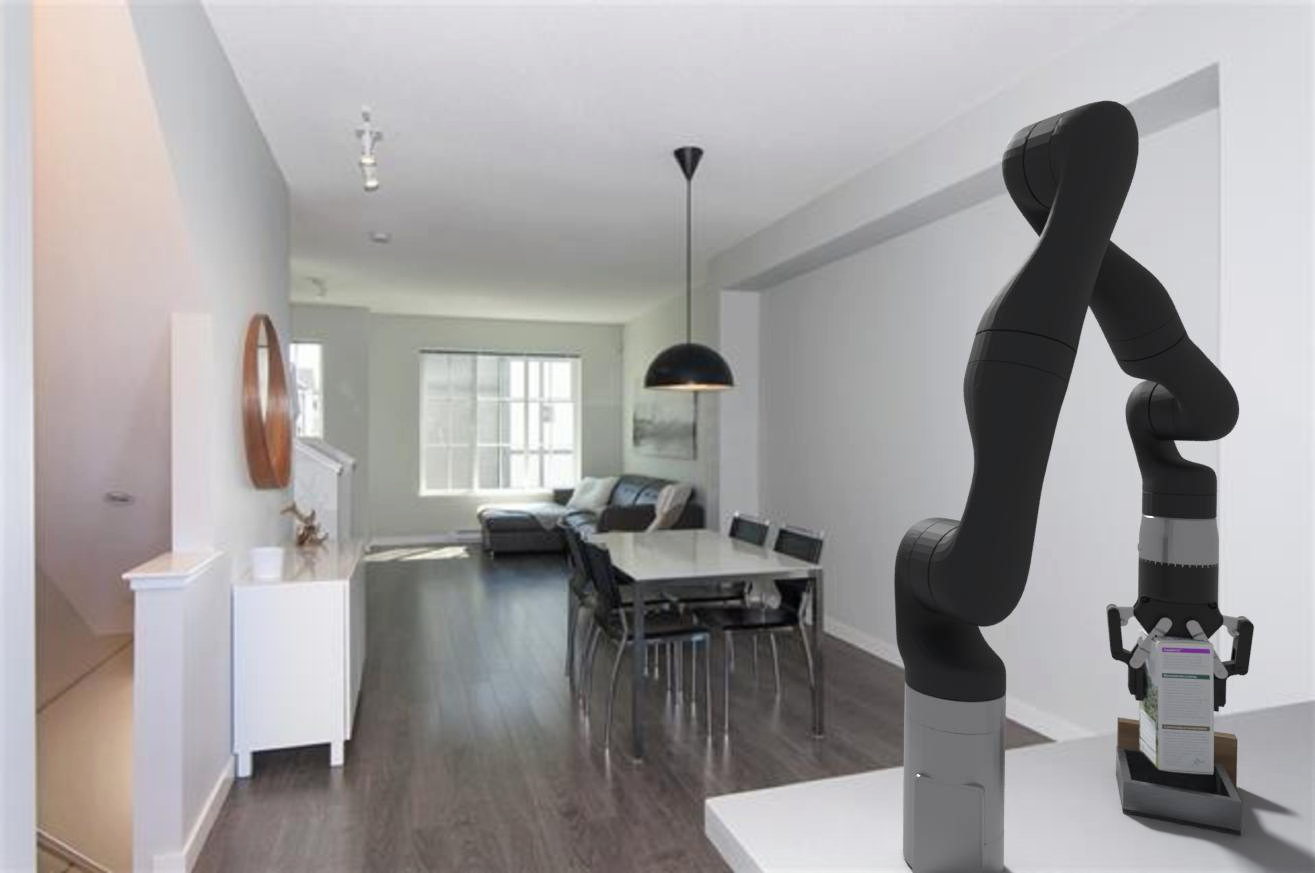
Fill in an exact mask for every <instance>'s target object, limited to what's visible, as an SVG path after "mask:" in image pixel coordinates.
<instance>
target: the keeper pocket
mask: <svg viewBox="0 0 1315 873" xmlns="http://www.w3.org/2000/svg"><path fill="white" fill-rule="evenodd" d="M1115 749H1116V750H1115V752H1116V753H1115V756H1116V757H1115V758H1116V759H1115V776H1116V777H1115V778H1116V782H1117V787H1118V788H1117V789H1118V793H1119V798H1120V804H1121V810H1122V813H1123V814H1128V815H1132V816H1137V817H1143V818H1149V819H1154V820H1158V821H1164V822H1168V823H1175V824H1179V825H1185V826H1190V827H1195V828H1199V829H1206V830H1211V831H1216V832H1221V833H1226V834H1231V835H1236V836H1242V801H1241V799H1240V796H1239V795H1238V792H1237V789H1236V790H1235V788H1234V786H1233V784H1232V782H1231V780H1230V778H1229V776H1228V774H1227V772H1226V770H1225V768H1224V766H1223V764H1222V763H1220V762H1214V773H1213V775H1210V774H1192V773H1180V772H1170V771H1163V770H1159V769H1158V768H1156V767H1155V766H1154V764H1153V763H1152V762H1151V761H1150V760H1149V759H1148V758H1147V757H1146V756H1145V755H1144V754H1143V753H1142V752H1141V751H1140V750H1139V749H1133V748H1127V747H1121V746H1117V745H1116V747H1115Z"/></svg>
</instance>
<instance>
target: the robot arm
mask: <svg viewBox="0 0 1315 873" xmlns="http://www.w3.org/2000/svg"><path fill="white" fill-rule="evenodd" d="M1139 140H1140V138H1139V130H1138V126H1137V123H1136V120H1135V117H1134V116H1133V114H1132V112H1131V111H1130V110H1129V109H1128V108H1127V107H1126V106H1125V105H1124V104H1122V103H1119V102H1118V101H1112V100H1102V101H1101V100H1099V101H1093V102H1090V103H1086V104H1083V105H1080V106H1076V107H1074V108H1071V109H1069V110H1066V111H1064V112H1060V113H1057V114H1055V115H1052V116H1050V117H1047V118H1045V119H1043V120H1039V121H1036V122H1035V123H1032V124H1029V125H1027V126H1025V127H1023V128H1021V129H1019V130H1018V131H1016V132H1015V133H1014V134H1013V135H1012V136H1011V137H1010V139H1009V140H1008V142H1007V144H1006V145H1005V149H1004V150H1003V154H1002V159H1001V160H1002V161H1001V169H1002V171H1001V173H1002V177H1003V181H1004V184H1005V187H1006V189H1007V192H1008V194H1009V195H1010V198H1011V200H1012V201H1013V203H1014V204H1015V205H1016V208H1017V209H1018V211H1019V212H1020V213H1021V215H1022V216H1023V217H1024V218H1025V220H1026V221H1027V223H1028V224H1029V226H1030V227H1031V228H1032V229H1033V231H1034V232H1035V233H1036V235H1037V236H1038V237H1039V238H1037V241H1036V243H1035V244H1034V246H1033V248H1032V249H1031V250H1030V251H1029V253H1028V254H1027V256H1026V257H1025V259H1024V260H1023V261H1022V262H1021V263H1020V265H1019V266H1018V267H1017V268H1016V270H1015V271H1014V272H1013V273H1012V275H1011V276H1010V277H1009V278H1008V280H1006V282H1005V284H1003V285H1002V287H1001V288H1000V289H999V291H998V292H997V294H996V295H995V296H994V297H993V299H992V301H991V302H990V303H989V305H988V307H987V308H986V309H985V311H984V313H983V314H982V317H981V319H980V322H979V323H978V326H977V329H976V332H975V336H974V339H973V344H972V346H971V350H970V354H969V357H968V361H967V365H966V369H965V372H964V377H963V378H964V379H963V387H962V388H963V390H962V392H963V403H964V408H965V414H966V419H967V423H968V428H969V432H970V434H969V435H970V438H971V443H972V448H973V473H972V477H971V478H972V479H971V485H970V488H969V492H968V495H967V500H966V504H965V507H964V510H963V513H962V516H961V519H960V520H957V519H953V518H945V517H929V518H925V519H922V520H919V521H918V522H916V523H915V524H913V525H912V526H911V527H910V528H909V529H908V530H907V531H906V532H905V534H904V535H903V537H902V538H901V541H900V543H899V545H898V548H897V552H896V556H895V563H894V577H893V579H894V581H893V582H894V608H895V610H894V612H895V613H894V615H895V634H896V635H895V636H896V645H897V649H898V652H899V655H900V658H901V660H902V663H903V666H904V709H903V710H904V712H903V786H902V787H903V789H902V790H903V792H902V793H903V796H902V798H903V800H902V802H903V803H902V805H903V806H902V807H903V808H902V855H903V858H904V859H905V862H907V864H908V865H909V866H910V867H911V868H912V869H911V872H912V873H1004V869H1005V868H1004V867H1005V865H1004V864H1005V862H1004V861H1005V858H1004V857H1005V792H1006V791H1005V789H1006V788H1005V786H1006V784H1005V782H1006V776H1005V775H1006V724H1007V719H1006V718H1007V715H1006V714H1007V670H1006V665H1005V662H1004V661H1003V660H1002V658H1001V657H1000V656H999V655H998V654H997V653H996V651H995V650H993V648H992V647H991V646H990V644H989V643H988V641H987V640H986V638H985V637H984V636H983V633H982V632H981V629H980V627H981V628H982V627H983V628H986V627H992V626H995V625H997V624H999V623H1002V622H1003V621H1004V620H1006V618H1008V617H1009V616H1010V615H1011V614H1012V613H1013V612H1014V610H1015V609H1016V608H1017V607H1018V605H1019V602H1020V601H1021V598H1022V597H1023V594H1024V591H1025V589H1026V585H1027V582H1028V579H1029V574H1030V570H1031V564H1032V557H1033V551H1034V543H1035V537H1036V530H1037V524H1038V519H1039V510H1040V505H1041V498H1042V497H1041V496H1042V493H1043V492H1042V491H1043V486H1044V481H1045V478H1046V473H1047V468H1048V465H1049V464H1048V463H1049V459H1050V455H1051V451H1052V446H1053V442H1054V439H1055V433H1056V429H1057V425H1058V420H1059V418H1060V414H1061V410H1062V407H1063V403H1064V401H1065V397H1066V394H1067V391H1068V388H1069V383H1070V382H1071V381H1070V380H1071V377H1072V372H1073V369H1074V367H1075V366H1074V365H1075V361H1076V357H1077V354H1078V349H1079V346H1080V345H1079V344H1080V340H1081V337H1082V336H1081V335H1082V330H1083V327H1084V323H1085V319H1086V316H1087V313H1088V309H1090V310H1091V312H1092V314H1093V316H1094V318H1095V320H1096V322H1097V324H1098V326H1099V328H1100V330H1101V332H1102V334H1103V336H1104V338H1105V340H1106V342H1107V344H1108V346H1109V348H1110V350H1111V352H1112V355H1113V356H1114V359H1115V360H1116V361H1115V362H1116V363H1117V365H1119V368H1120V369H1121V371H1122V372H1124V374H1126V375H1127V376H1129V377H1131V378H1134V379H1139V380H1143V381H1142V382H1139V383H1138V384H1136V386H1135V387H1134V388H1133V389H1132V390H1131V392H1130V393H1129V395H1128V398H1127V400H1126V401H1127V402H1126V405H1125V421H1126V426H1127V430H1128V434H1129V436H1130V441H1131V443H1132V446H1133V450H1134V453H1135V457H1136V462H1137V464H1138V468H1139V471H1140V476H1141V484H1142V485H1141V487H1142V488H1141V490H1142V493H1141V497H1142V498H1141V520H1140V526H1139V533H1138V543H1137V551H1138V567H1137V569H1138V576H1137V577H1138V578H1137V580H1138V581H1137V582H1138V583H1137V586H1138V587H1137V600H1136V602H1135V603H1134V604H1133V606H1117V605H1116V604H1114V603H1110V604H1108V605H1106V617H1107V620H1106V621H1107V628H1108V641H1109V650H1110V655H1111V658H1112V659H1113V660H1115V661H1120V662H1121V663H1124V664H1125V665H1127V688H1128V689H1127V690H1128V692H1129V695H1131V696H1134V698H1135V701H1136V702H1137V701H1138V702H1139V701H1143V676H1144V670H1143V667H1142V664H1143V663H1144V661H1145V660H1146V659H1147V657H1148V656H1149V654H1150V652H1151V643H1150V642H1151V640H1153V639H1154V638H1163V636H1165V637H1183V638H1191V639H1194V640H1197V641H1201V640H1202V641H1203V642H1208V643H1211V642H1210V640H1209V639H1210V638H1212V636H1214V634H1216V633H1217V631H1219V629H1220V628H1221V627H1222V626H1225V627H1226V630H1227V633H1228V635H1230V637H1232V646H1231V654H1230V660H1225V661H1221V659H1220V657H1219V654H1217V652H1216V650H1215V649H1213V677H1214V712H1219V709H1220V708H1225V707H1226V704H1227V680H1228V678H1230V677H1232V676H1233V677H1234V676H1245V675H1247V674H1248V672H1249V668H1250V660H1251V653H1252V646H1253V645H1252V644H1253V637H1254V630H1255V625H1254V623H1253V622H1252V621H1251V620H1250V619H1249V618H1248V617H1246V616H1243V615H1240V616H1237V617H1236V616H1228V615H1224V614H1222V613H1221V610H1220V608H1219V574H1220V573H1219V569H1220V568H1219V564H1220V560H1219V558H1220V540H1219V539H1220V538H1219V530H1218V522H1217V521H1218V519H1217V516H1218V515H1217V511H1218V508H1217V507H1218V478H1217V473H1216V472H1215V470H1214V469H1213V468H1212V467H1210V466H1209V465H1206V464H1203V463H1199V462H1195V461H1191V460H1189V459H1186V458H1184V457H1182V455H1181V452H1180V451H1179V450H1178V448H1177V444H1176V443H1175V442H1176V441H1177V442H1178V441H1179V442H1181V441H1182V442H1212V441H1218V440H1222V439H1224V438H1225V437H1227V436H1228V435H1229V434H1230V433H1232V431H1233V430H1234V429H1235V428H1236V425H1237V424H1238V420H1239V416H1240V404H1239V400H1238V396H1237V393H1236V391H1235V388H1234V387H1233V385H1232V384H1231V382H1230V381H1229V379H1228V378H1227V377H1226V376H1225V374H1224V373H1223V372H1222V371H1221V370H1220V369H1219V368H1218V367H1217V366H1216V365H1215V364H1214V363H1213V362H1212V361H1211V359H1210V358H1209V357H1208V356H1207V355H1206V354H1205V353H1204V352H1203V351H1202V349H1201V348H1200V347H1199V346H1198V345H1196V344H1195V343H1194V341H1192V339H1191V338H1190V336H1189V334H1188V332H1187V330H1186V328H1185V326H1184V325H1185V324H1183V321H1182V319H1181V317H1180V315H1179V312H1178V310H1177V307H1176V306H1175V303H1174V301H1173V299H1172V297H1171V296H1170V293H1169V292H1168V290H1167V289H1166V287H1165V286H1164V285H1163V283H1162V282H1161V281H1160V280H1159V278H1158V277H1156V276H1155V275H1154V274H1153V273H1152V272H1151V271H1150V270H1149V269H1147V268H1146V267H1145V266H1144V265H1142V264H1141V263H1140V261H1137V260H1136V259H1135V258H1133V256H1132V255H1130V254H1128V253H1127V252H1126V251H1124V250H1123V249H1122V248H1120V247H1119V246H1118V245H1117V244H1116V243H1115V242H1113V241H1112V240H1111V238H1112V236H1113V233H1114V230H1115V227H1116V224H1117V223H1118V220H1119V218H1120V214H1121V212H1122V209H1123V208H1124V204H1125V202H1126V199H1127V197H1128V195H1129V191H1130V189H1131V186H1132V183H1133V180H1134V177H1135V173H1136V170H1137V164H1138V158H1139V151H1140V150H1139V149H1140V148H1139V147H1140V146H1139V145H1140V143H1139V142H1140V141H1139ZM1132 617H1134V618H1135V619H1136V621H1137V623H1139V625H1140V626H1141V627H1142V629H1144V630H1145V631H1146V632H1147V634H1148V635H1147V637H1146V638H1145V640H1144V639H1143V638H1142V636H1140V637H1138V639H1137V640H1136V643H1135V645H1134V646H1133V647H1132V649H1131V650H1128V649H1127V648H1124V644H1123V636H1122V627H1125V626H1127V625H1129V624H1128V623H1129V620H1130V618H1132Z"/></svg>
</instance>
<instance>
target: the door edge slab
mask: <svg viewBox="0 0 1315 873" xmlns="http://www.w3.org/2000/svg"><path fill="white" fill-rule="evenodd" d="M1116 729H1117V730H1116V732H1117V733H1116V734H1117V736H1116V739H1117V740H1116V741H1117V742H1116V746H1121V747H1127V748H1133V749H1139V719H1132V718H1126V717H1119V716H1117V728H1116ZM1214 762H1220V763H1222V764H1223V766H1224V768H1225V770H1226V772H1227V774H1228V776H1229V778H1230V780H1231V782H1232V784H1233V786H1234V788H1235V790H1236V791H1237V785H1238V784H1237V783H1238V782H1237V779H1238V778H1237V776H1238V738H1237V736H1236V734H1235V733H1226V732H1220V731H1215V730H1214Z"/></svg>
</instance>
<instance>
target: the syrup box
mask: <svg viewBox="0 0 1315 873" xmlns="http://www.w3.org/2000/svg"><path fill="white" fill-rule="evenodd" d="M1138 633H1139V634H1138V636H1139V637H1140V636H1142V638H1143V639H1144V640H1145V638H1146V637H1147V635H1148V634H1147V632H1146V631H1145V630H1144V628H1139V631H1138ZM1139 637H1138V638H1139ZM1150 643H1151V652H1150V654H1149V656H1148V657H1147V659H1146V660H1145V661H1144V663H1143V664H1142V667H1143V670H1144V676H1143V701H1138V704H1139V705H1138V720H1139V750H1140V751H1141V752H1142V753H1143V754H1144V755H1145V756H1146V757H1147V758H1148V759H1149V760H1150V761H1151V762H1152V763H1153V764H1154V766H1155V767H1156V768H1158V769H1159V770H1163V771H1170V772H1180V773H1192V774H1210V775H1213V773H1214V731H1215V713H1214V712H1215V711H1214V677H1213V649H1214V644H1213V643H1212V642H1210V643H1208V642H1203V641H1202V640H1201V641H1197V640H1194V639H1191V638H1183V637H1165V636H1163V638H1154V639H1153V640H1151V642H1150ZM1214 650H1215V649H1214Z"/></svg>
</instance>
